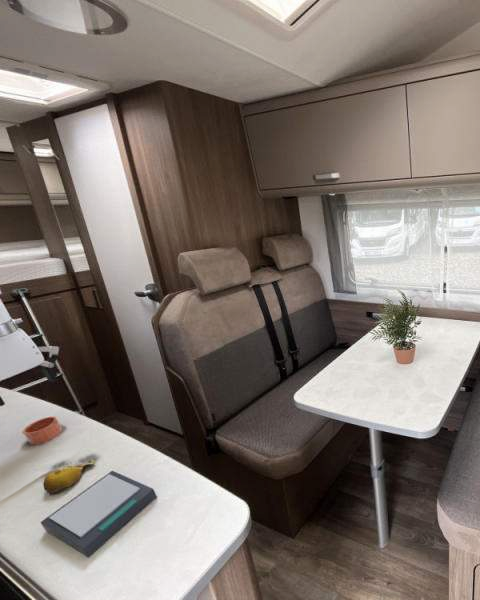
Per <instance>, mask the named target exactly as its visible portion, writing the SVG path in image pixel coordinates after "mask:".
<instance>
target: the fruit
mask: <svg viewBox="0 0 480 600" xmlns="http://www.w3.org/2000/svg"><path fill="white" fill-rule="evenodd" d="M94 464H96V461H95V460H93V459H89V460H88V461H86V462H84V463H78V464H76V465H71V464H70V465H65V466H61V467H59V468H57V469H55V470H53V471H51V472H49V473H48V474H47V475H46V476H45V478H44V481H43V483H42V485H43V489H44V491H46V492H47V493H48V494H49V495H51V494H54V493H56V492H57V491H60V490H63V489H65V488H71V486H72V485H74V484H76V483H77V482H79V481H80V478H81V476H82V474H83V472H82V470H83V468H84V467H85V466H86V465H91V466H93V465H94Z"/></svg>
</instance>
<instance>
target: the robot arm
mask: <svg viewBox="0 0 480 600" xmlns="http://www.w3.org/2000/svg"><path fill="white" fill-rule="evenodd" d="M21 324H24V320H23V319H22V318H12V317H11V315H10V313H9V312H8V309H7V308H6V306H5V304H4V303H3V301H2V299H1V298H0V382H2V381H3V380H6V379H9V378H12V377H14V376H16V375H19V374H21V373H24V372H26V371H29V370H31V369H34V368H37V367H38V366H41V370H42V372H43V374H44V376H45V378H46V379H47V381H49V382H52V383H55V382H58V378H57V377H58V373H57V372H56V369H55V368H54V367H55V363H56V362H57V360H58V358H59V356H58V355H59V351H60V347H59V346H55V345H51V346H50V345H49V346H47V345H46V346H37V345H36V343H35V342H34V341H33V340H32V338H31V337H30V336H29V334H27V333H26V331H24V330H23V328H19V326H20V325H21ZM46 352H48V356H47V358H46V360H45V357H44V355H43V353H46ZM5 405H6V402H5V401H4V399H3V398H2V396H0V407H3V406H5Z"/></svg>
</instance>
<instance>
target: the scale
mask: <svg viewBox="0 0 480 600" xmlns="http://www.w3.org/2000/svg"><path fill="white" fill-rule="evenodd" d="M157 498H158V496H157V493H156V492H155V490H154V488H152V487H150V486H148V485H145V484H143V483H141V482H139V481H137V480H134V479H132V478H130V477H128V476H125V475H124V474H121V473H119V472H117V471H114V470H111V471H110V472H108V473H107V474H105V475H104V476H103V477H101V478H99V479H98V480H97V481H95V482H94V483H93V484H91V485H90V486H89V487H87V488H86V489H84V490H83V491H82V492H80V493H79V494H78V495H76V496H75V497H73V498H72V499H70V500H69V501H68V502H67V503H65V504H64V505H62V506H61V507H59V508H58V509H57V510H55V511H53V513H51V514H50V515H49V516H47V517H46V518H44V519H43V520H41V521H40V525H41V526H42V527H43V529H44V530H45V532H47V533H49V534H50V535H52V536H53V537H54V538H57V539H58V540H60V541H61V542H63V543H64V544H66V545H68V546H69V547H71V548H73V549H74V550H76V551H77V552H79V553H81V554H82V555H84V556H85V557H87V558H90V557H91V556H92V555H94V553H95V552H97V551H98V550H100V548H102V546H103V545H105V543H107V542H109V540H110V539H111V538H113V537H114V536H115V535H116V534H117V533H118V532H119V531H121V530H123V528H124V527H125V526H126V525H127V524H128V523H129V522H131V521H132V520H133V519H135V517H136V516H138V515H139V514H140V513H141V512H142V511H143V510H144V509H146V508H147V507H148V506H149V505H150V504H151V503H152V502H154V501H155V500H156V499H157Z"/></svg>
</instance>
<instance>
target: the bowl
mask: <svg viewBox="0 0 480 600" xmlns="http://www.w3.org/2000/svg"><path fill="white" fill-rule="evenodd" d="M62 431H63V427H62V425H61V423H60V422H59V420H58V418H57V417H56V416H47V417H43V418H40V419H38V420H36V421H34V422H32V423H30V424H29V425H27V426H26V427H25V428H24V429H23V430H22V434H23V436H24V437H25V439H26V440H27V442H28V443H29V444H30V445H38V444H43V443H46V442H47V441H50V440H52V439H53V438H55V437H57V436H58V435H59V434H61V432H62Z"/></svg>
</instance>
